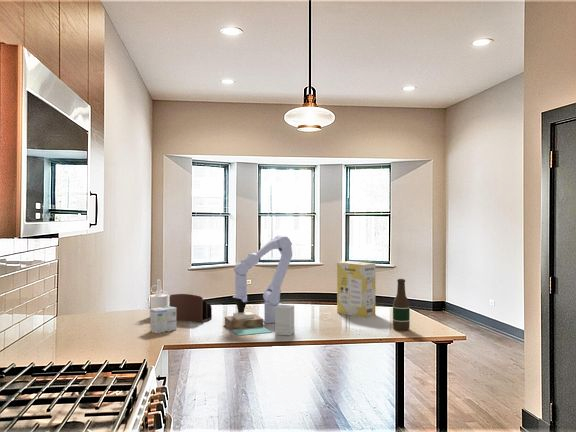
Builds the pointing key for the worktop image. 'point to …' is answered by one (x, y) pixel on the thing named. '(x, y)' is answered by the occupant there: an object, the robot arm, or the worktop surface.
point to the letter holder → (191, 308)
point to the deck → (243, 322)
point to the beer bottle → (401, 308)
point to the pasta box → (356, 288)
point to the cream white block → (243, 315)
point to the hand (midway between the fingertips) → (241, 314)
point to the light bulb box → (163, 319)
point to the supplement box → (284, 320)
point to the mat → (251, 331)
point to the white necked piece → (159, 297)
